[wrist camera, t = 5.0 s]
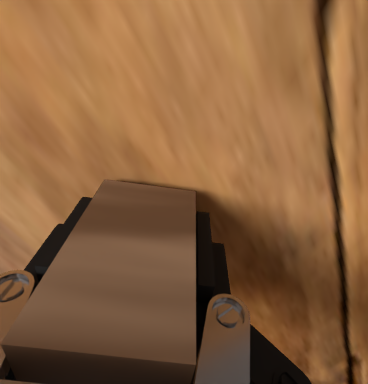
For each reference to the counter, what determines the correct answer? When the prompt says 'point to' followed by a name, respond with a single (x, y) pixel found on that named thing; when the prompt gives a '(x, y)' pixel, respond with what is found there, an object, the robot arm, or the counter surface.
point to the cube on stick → (115, 295)
